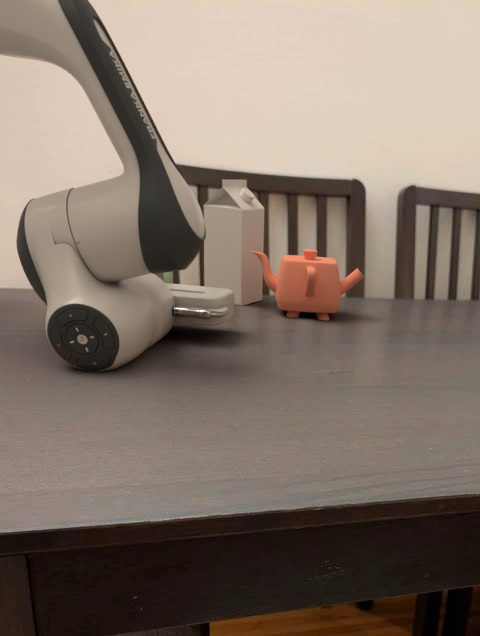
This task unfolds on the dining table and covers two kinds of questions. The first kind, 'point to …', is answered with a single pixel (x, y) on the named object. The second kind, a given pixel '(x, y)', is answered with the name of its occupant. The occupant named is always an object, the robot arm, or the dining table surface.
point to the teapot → (307, 283)
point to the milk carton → (234, 242)
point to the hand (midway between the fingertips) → (168, 289)
